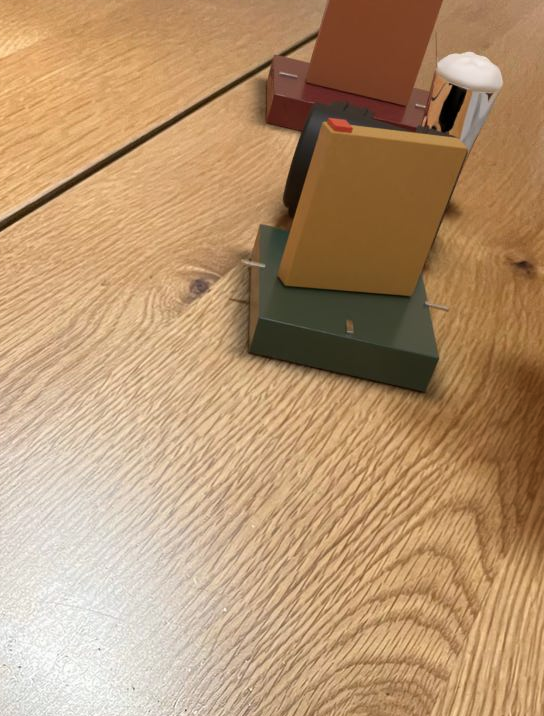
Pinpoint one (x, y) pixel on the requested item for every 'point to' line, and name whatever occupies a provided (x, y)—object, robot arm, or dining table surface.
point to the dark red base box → (328, 98)
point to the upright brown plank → (373, 46)
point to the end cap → (309, 140)
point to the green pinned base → (339, 323)
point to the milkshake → (462, 96)
